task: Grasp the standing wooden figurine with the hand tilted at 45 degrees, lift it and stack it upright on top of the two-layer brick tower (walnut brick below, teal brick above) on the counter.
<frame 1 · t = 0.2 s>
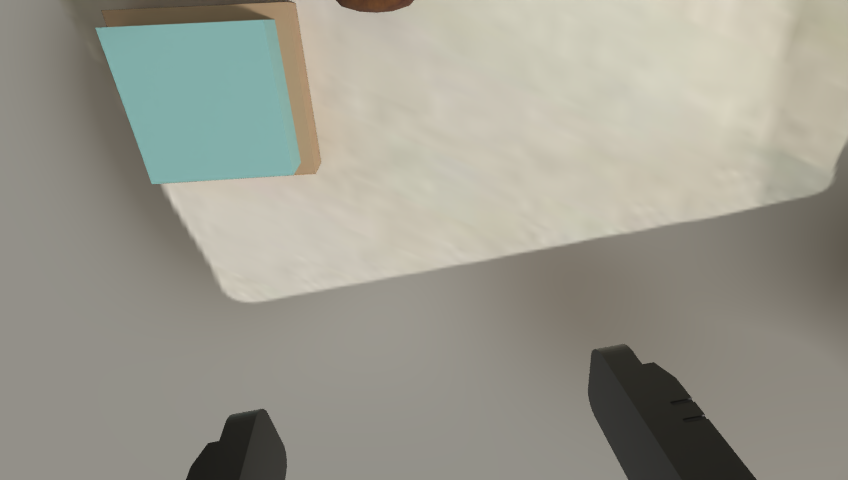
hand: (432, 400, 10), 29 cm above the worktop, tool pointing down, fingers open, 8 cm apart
tower base: (232, 93, 33), on the worktop
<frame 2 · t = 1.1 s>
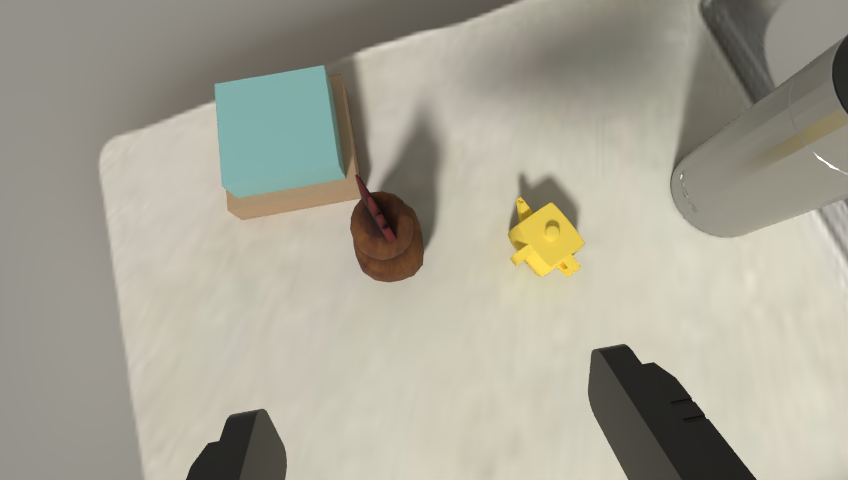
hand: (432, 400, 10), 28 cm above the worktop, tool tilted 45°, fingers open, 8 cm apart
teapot: (531, 248, 40), on the worktop
tower base: (296, 153, 43), on the worktop
wooden figurine: (393, 253, 41), on the worktop
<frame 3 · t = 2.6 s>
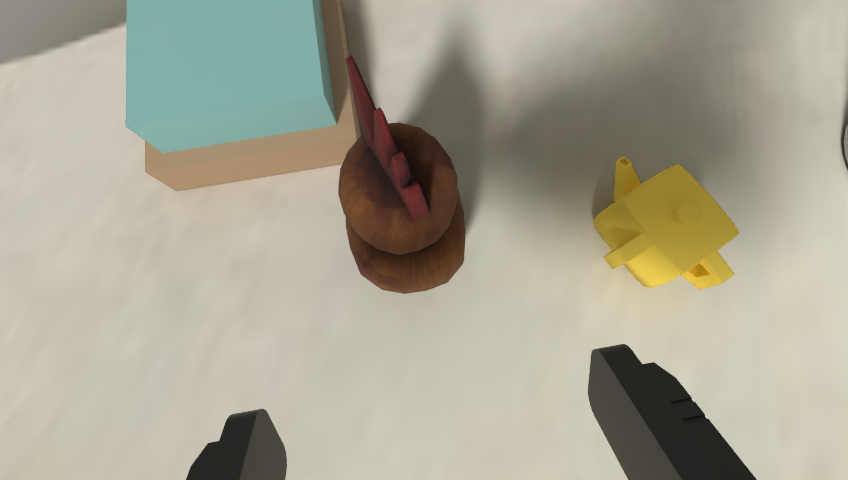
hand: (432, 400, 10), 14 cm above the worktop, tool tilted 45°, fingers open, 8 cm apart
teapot: (627, 242, 26), on the worktop
tower base: (263, 93, 28), on the worktop
wooden figurine: (410, 246, 26), on the worktop
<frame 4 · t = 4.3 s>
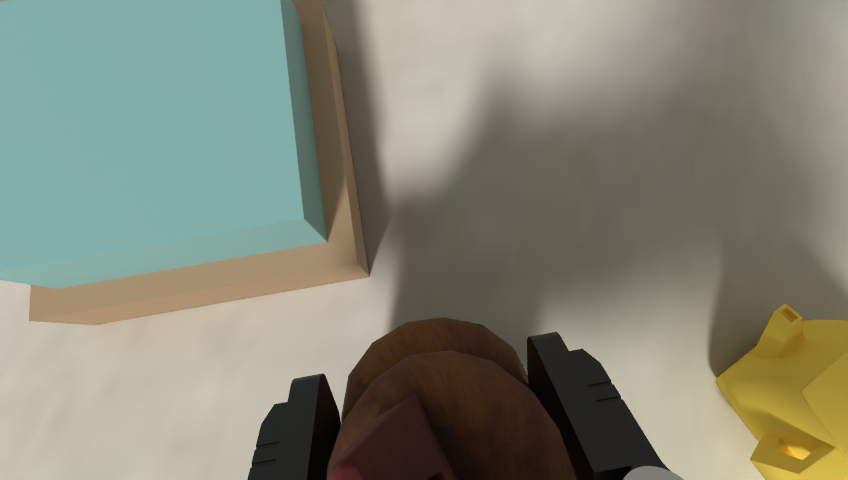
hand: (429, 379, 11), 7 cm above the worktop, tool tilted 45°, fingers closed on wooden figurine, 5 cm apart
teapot: (763, 406, 17), on the worktop
tower base: (224, 173, 20), on the worktop
wooden figurine: (439, 412, 17), on the worktop, touching gripper
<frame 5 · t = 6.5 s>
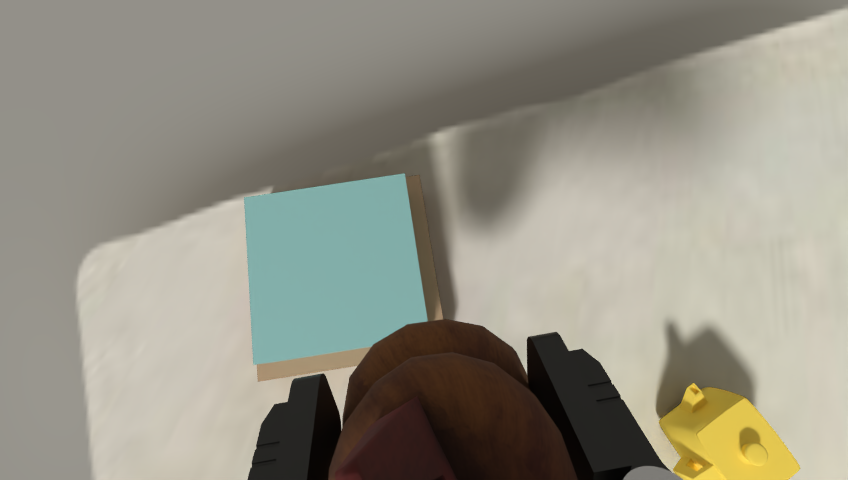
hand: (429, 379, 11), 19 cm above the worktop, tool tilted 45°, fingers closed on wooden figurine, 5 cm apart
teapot: (688, 437, 28), on the worktop
tower base: (351, 279, 31), on the worktop
wooden figurine: (439, 413, 17), point 12 cm above the worktop, touching gripper
when the fingers open (13 cm above the worktop, at t = 8.5 s): wooden figurine stays where it is, resting on tower base.
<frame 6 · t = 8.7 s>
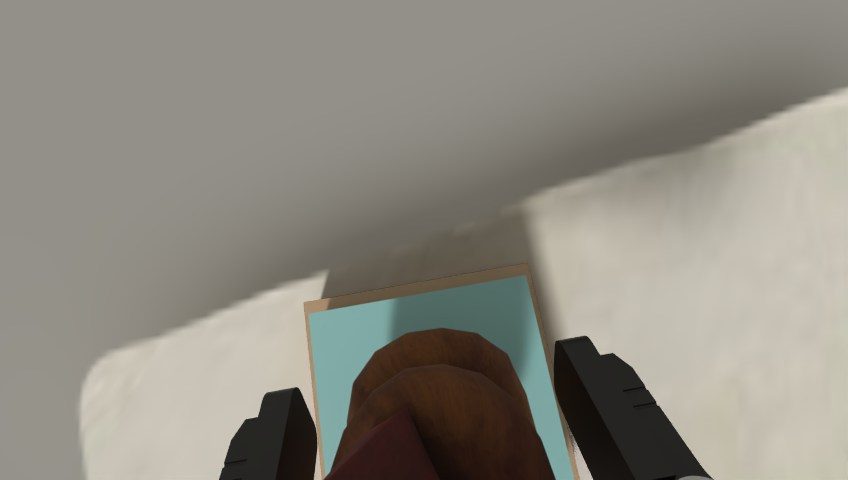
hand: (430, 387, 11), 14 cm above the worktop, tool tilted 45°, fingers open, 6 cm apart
tower base: (436, 394, 24), on the worktop
wooden figurine: (442, 414, 18), point 6 cm above the worktop, touching tower base
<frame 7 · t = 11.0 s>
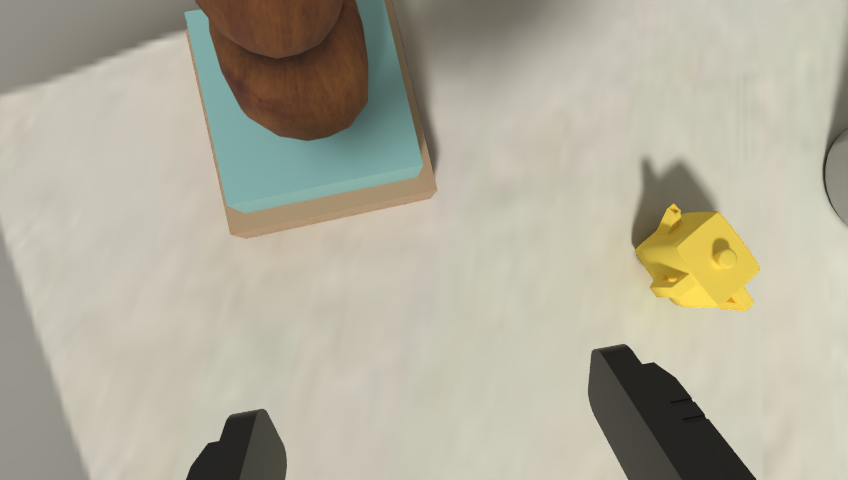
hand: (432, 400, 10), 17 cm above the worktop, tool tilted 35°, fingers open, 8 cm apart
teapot: (658, 263, 30), on the worktop
tower base: (320, 128, 28), on the worktop
wooden figurine: (310, 94, 22), point 6 cm above the worktop, touching tower base
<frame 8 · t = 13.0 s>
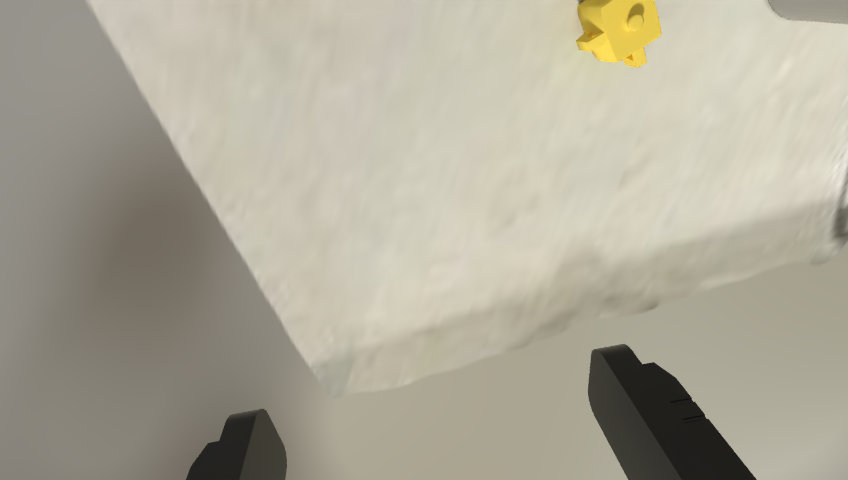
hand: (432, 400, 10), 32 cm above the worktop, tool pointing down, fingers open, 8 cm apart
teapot: (595, 20, 37), on the worktop
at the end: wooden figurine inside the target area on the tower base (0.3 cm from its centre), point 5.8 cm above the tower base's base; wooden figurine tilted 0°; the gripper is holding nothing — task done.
